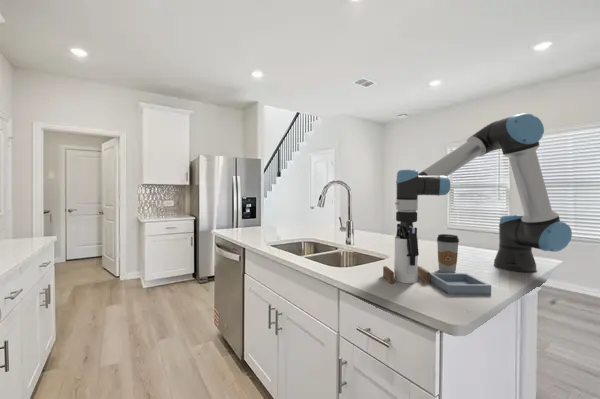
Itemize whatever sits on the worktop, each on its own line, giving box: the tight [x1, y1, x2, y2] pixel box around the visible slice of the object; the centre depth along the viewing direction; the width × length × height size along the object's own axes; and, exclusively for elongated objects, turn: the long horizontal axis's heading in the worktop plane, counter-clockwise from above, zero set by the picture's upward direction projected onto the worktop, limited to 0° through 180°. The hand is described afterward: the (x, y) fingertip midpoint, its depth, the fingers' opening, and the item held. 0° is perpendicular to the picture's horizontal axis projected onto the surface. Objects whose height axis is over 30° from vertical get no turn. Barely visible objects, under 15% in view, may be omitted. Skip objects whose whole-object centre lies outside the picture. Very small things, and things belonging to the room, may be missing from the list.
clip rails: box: [382, 265, 431, 284], centre depth 112 cm, size 14×9×4 cm, turn 91°
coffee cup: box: [436, 233, 460, 273], centre depth 124 cm, size 8×8×15 cm
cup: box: [393, 235, 419, 284], centre depth 112 cm, size 8×8×16 cm
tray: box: [430, 272, 492, 296], centre depth 104 cm, size 14×14×3 cm
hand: (405, 270), depth 112 cm, fingers open, 10 cm apart
